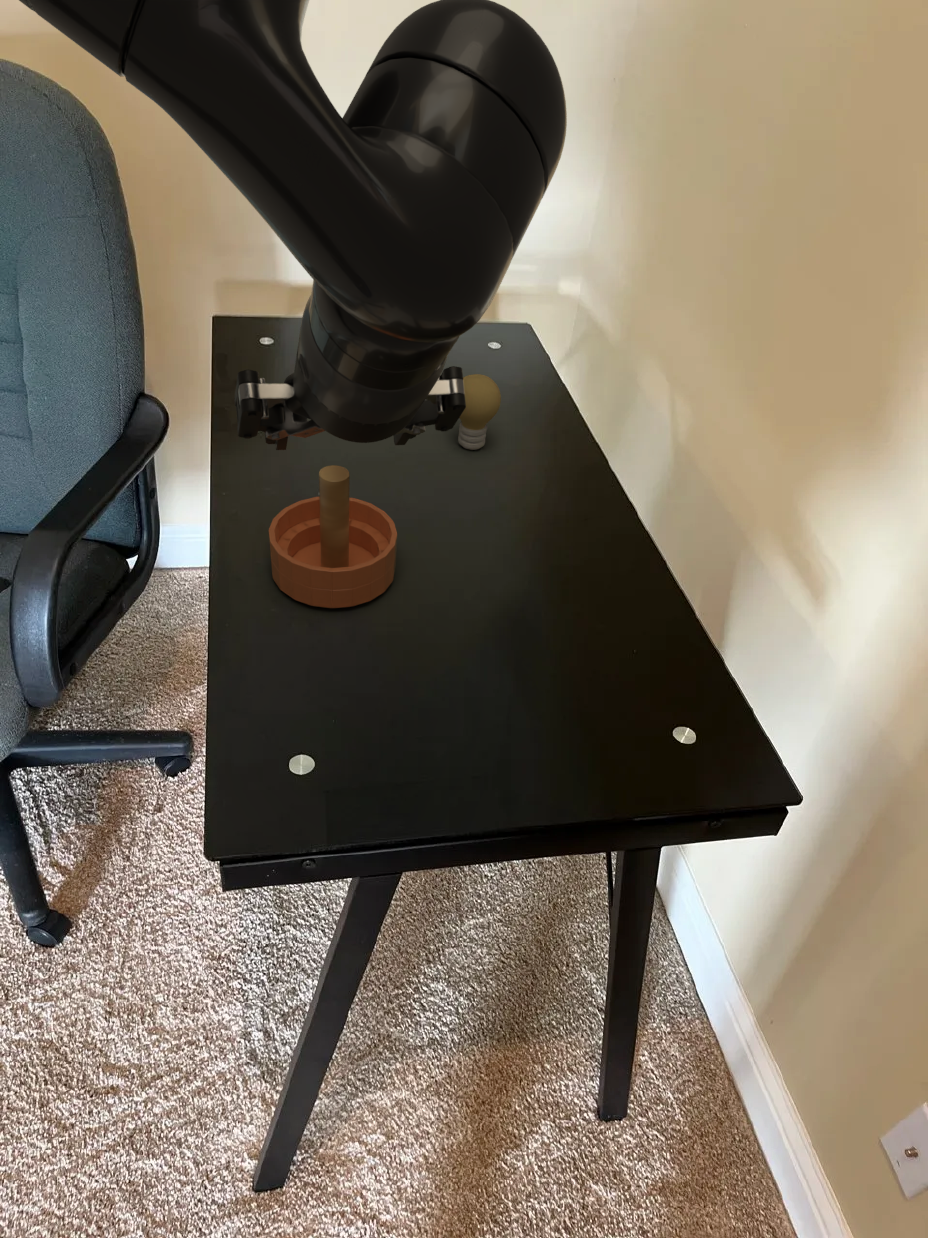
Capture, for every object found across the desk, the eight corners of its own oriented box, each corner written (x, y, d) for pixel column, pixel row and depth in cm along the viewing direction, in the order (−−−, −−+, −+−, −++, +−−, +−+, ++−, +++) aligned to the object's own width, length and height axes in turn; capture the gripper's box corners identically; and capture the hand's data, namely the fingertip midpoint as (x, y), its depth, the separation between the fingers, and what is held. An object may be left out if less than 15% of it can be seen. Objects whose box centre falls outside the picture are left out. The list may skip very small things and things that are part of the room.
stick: (322, 577, 88) (320, 482, 80) (319, 560, 90) (317, 465, 82) (350, 575, 89) (351, 480, 81) (346, 558, 91) (347, 464, 83)
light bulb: (456, 459, 110) (463, 389, 103) (441, 434, 114) (448, 367, 108) (500, 455, 112) (510, 387, 105) (485, 431, 116) (493, 364, 110)
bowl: (277, 617, 84) (274, 576, 80) (267, 539, 93) (264, 499, 90) (404, 606, 87) (407, 565, 83) (383, 532, 96) (384, 492, 93)
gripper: (490, 285, 46) (429, 380, 62) (224, 282, 42) (232, 384, 58) (504, 418, 46) (440, 480, 61) (238, 427, 42) (242, 490, 58)
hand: (339, 433), depth 60 cm, fingers open, 8 cm apart
